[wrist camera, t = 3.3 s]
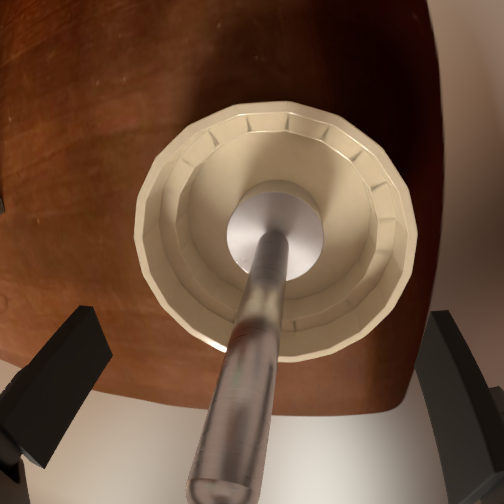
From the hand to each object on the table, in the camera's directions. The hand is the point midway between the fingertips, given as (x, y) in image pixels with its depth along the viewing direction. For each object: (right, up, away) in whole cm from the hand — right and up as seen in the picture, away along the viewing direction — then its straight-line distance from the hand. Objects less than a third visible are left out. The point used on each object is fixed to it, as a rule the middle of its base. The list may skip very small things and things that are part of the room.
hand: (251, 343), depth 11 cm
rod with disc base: (+2, +5, +11) cm, 12 cm away
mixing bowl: (+2, +6, +11) cm, 13 cm away
